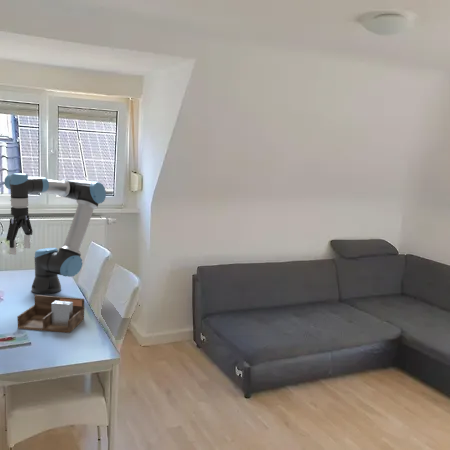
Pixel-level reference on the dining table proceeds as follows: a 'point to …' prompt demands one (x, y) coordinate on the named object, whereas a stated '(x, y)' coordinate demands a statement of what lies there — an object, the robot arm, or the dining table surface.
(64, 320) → the block
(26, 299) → the dining table surface
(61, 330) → the rack
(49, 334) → the dining table surface
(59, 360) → the dining table surface
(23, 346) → the dining table surface
